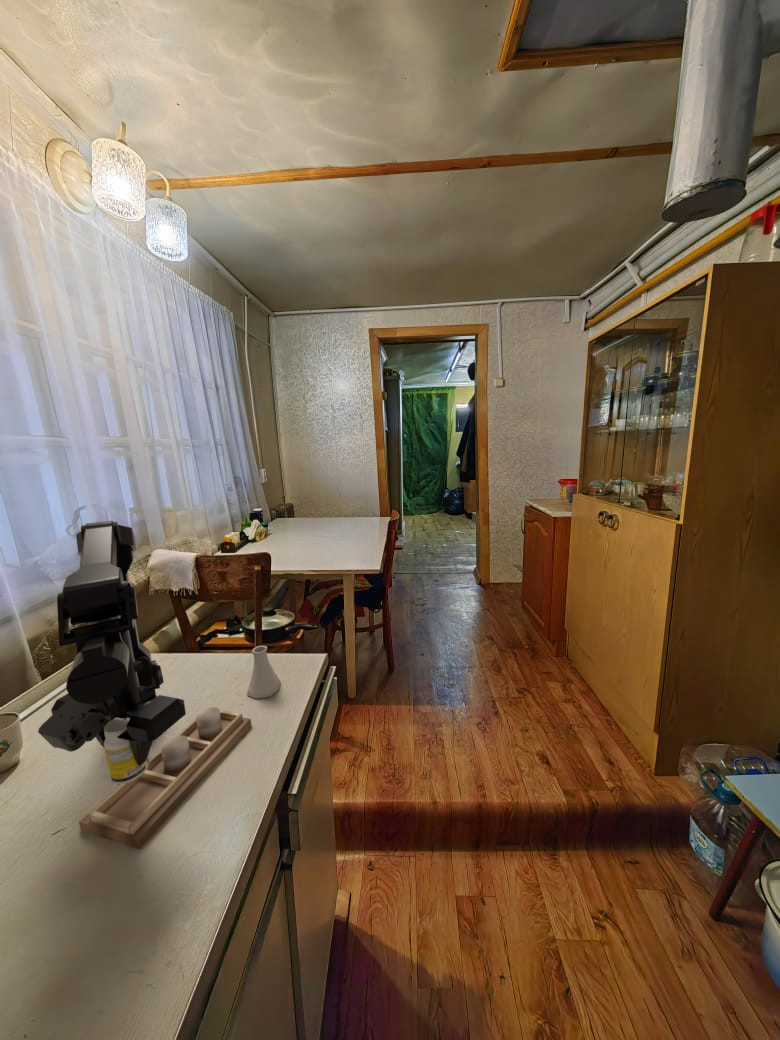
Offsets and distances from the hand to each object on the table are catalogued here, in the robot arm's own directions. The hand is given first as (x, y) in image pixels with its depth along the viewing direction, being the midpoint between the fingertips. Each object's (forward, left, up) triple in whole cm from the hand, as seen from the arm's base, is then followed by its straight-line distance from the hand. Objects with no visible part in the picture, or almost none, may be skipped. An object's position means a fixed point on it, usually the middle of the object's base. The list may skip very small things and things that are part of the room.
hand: (128, 759), depth 56 cm
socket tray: (0, +7, -9) cm, 12 cm away
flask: (+1, +30, -9) cm, 32 cm away
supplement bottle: (0, 0, -2) cm, 2 cm away
